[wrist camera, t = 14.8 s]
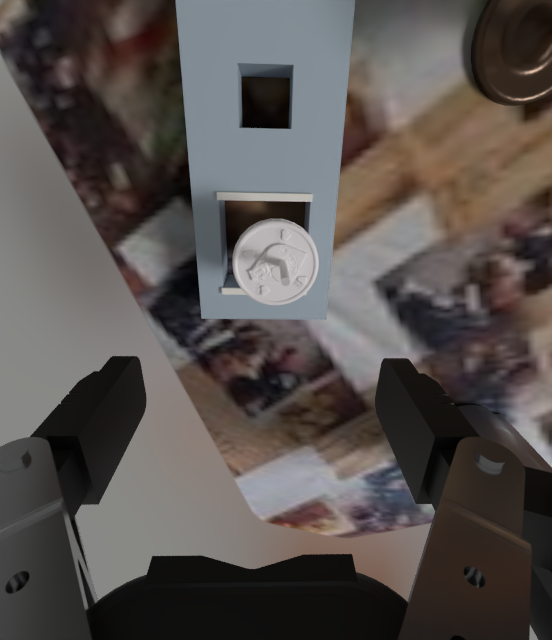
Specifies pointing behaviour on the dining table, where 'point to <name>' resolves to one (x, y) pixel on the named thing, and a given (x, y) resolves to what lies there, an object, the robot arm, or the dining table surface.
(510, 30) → the candlestick
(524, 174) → the dining table surface
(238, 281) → the smoothie
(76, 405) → the robot arm
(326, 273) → the socket block
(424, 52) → the dining table surface
